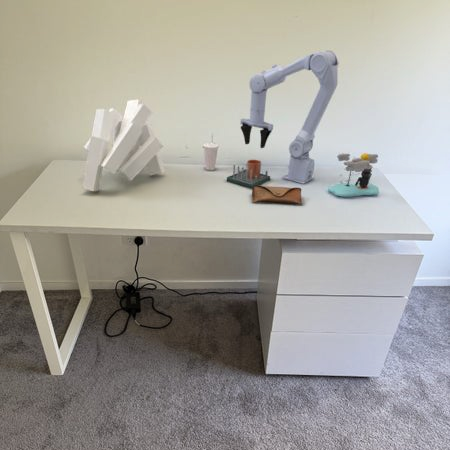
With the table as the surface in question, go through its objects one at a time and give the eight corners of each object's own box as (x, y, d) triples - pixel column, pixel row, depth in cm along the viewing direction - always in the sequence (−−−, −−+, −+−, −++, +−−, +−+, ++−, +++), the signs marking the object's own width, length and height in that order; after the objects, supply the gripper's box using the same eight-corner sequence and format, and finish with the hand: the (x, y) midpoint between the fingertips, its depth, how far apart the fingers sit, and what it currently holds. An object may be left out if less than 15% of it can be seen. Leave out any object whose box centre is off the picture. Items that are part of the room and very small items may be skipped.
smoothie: (217, 171, 160) (218, 136, 151) (202, 171, 159) (202, 135, 151) (218, 166, 165) (219, 132, 156) (203, 166, 165) (203, 131, 156)
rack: (270, 180, 154) (271, 164, 150) (251, 189, 145) (253, 172, 142) (245, 173, 159) (246, 157, 156) (226, 181, 151) (227, 165, 147)
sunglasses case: (252, 202, 134) (253, 182, 133) (251, 205, 141) (252, 186, 140) (304, 204, 134) (305, 185, 133) (300, 207, 141) (301, 188, 140)
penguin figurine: (370, 186, 152) (381, 147, 142) (384, 197, 143) (396, 155, 134) (323, 188, 148) (330, 148, 139) (334, 199, 140) (343, 157, 131)
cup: (262, 177, 153) (263, 161, 149) (254, 180, 149) (256, 164, 146) (251, 173, 155) (252, 158, 151) (243, 177, 152) (244, 161, 148)
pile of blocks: (139, 216, 135) (178, 117, 124) (56, 178, 130) (89, 71, 119) (154, 204, 167) (186, 125, 156) (88, 173, 162) (117, 89, 151)
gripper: (236, 108, 151) (234, 144, 159) (267, 114, 145) (264, 151, 153) (246, 105, 156) (244, 140, 164) (277, 111, 149) (273, 147, 157)
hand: (254, 145), depth 159 cm, fingers open, 7 cm apart
